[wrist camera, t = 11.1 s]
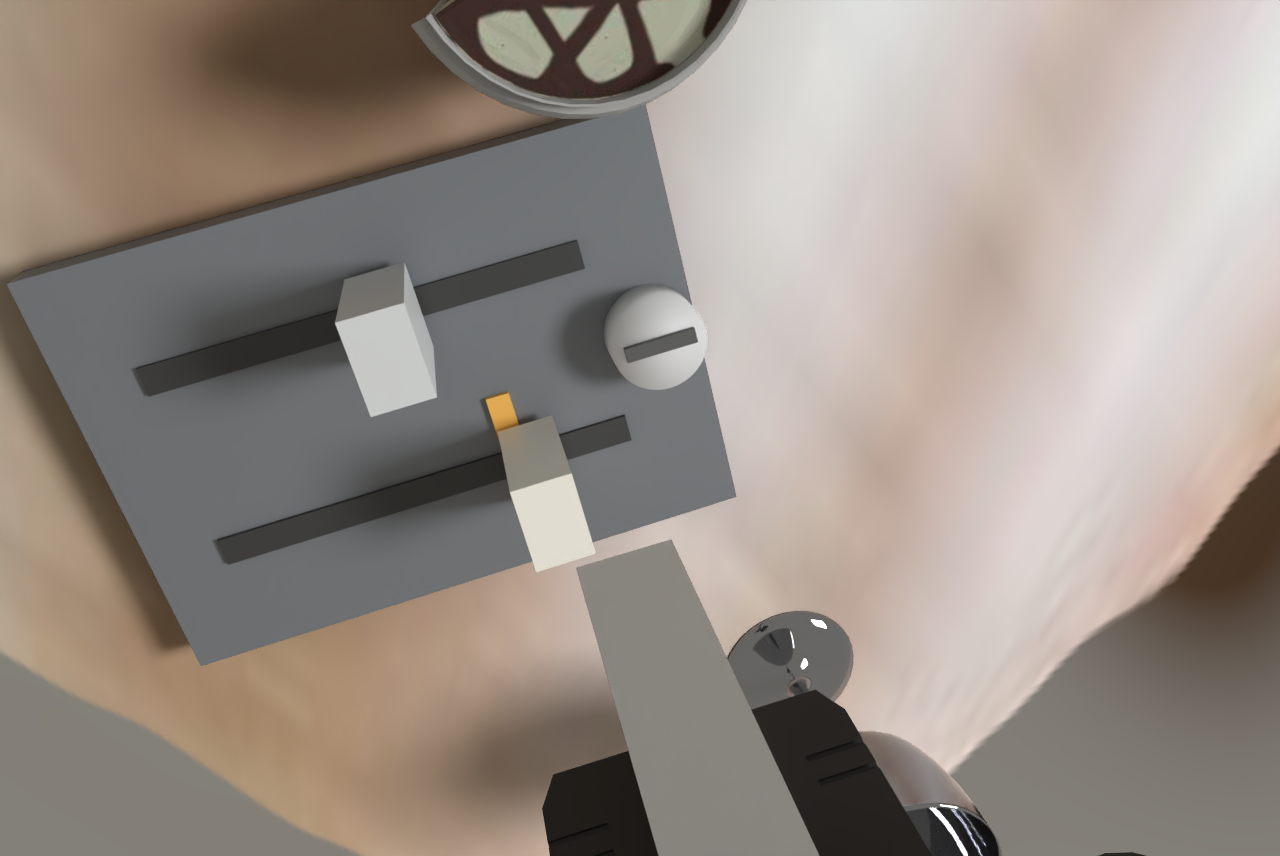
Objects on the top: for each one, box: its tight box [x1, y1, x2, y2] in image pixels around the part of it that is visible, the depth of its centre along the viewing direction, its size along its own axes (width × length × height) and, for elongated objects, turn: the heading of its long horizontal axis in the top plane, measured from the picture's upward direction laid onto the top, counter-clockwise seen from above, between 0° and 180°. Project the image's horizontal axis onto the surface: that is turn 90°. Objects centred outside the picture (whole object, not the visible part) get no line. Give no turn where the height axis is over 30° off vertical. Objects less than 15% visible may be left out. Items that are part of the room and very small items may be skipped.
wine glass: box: [728, 611, 1002, 856], centre depth 50 cm, size 8×8×15 cm
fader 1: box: [335, 262, 437, 417], centre depth 40 cm, size 4×2×6 cm, turn 14°
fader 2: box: [498, 415, 596, 572], centre depth 43 cm, size 4×2×6 cm, turn 14°
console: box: [6, 104, 736, 666], centre depth 45 cm, size 18×25×4 cm
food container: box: [411, 0, 747, 119], centre depth 38 cm, size 12×6×10 cm, turn 121°
